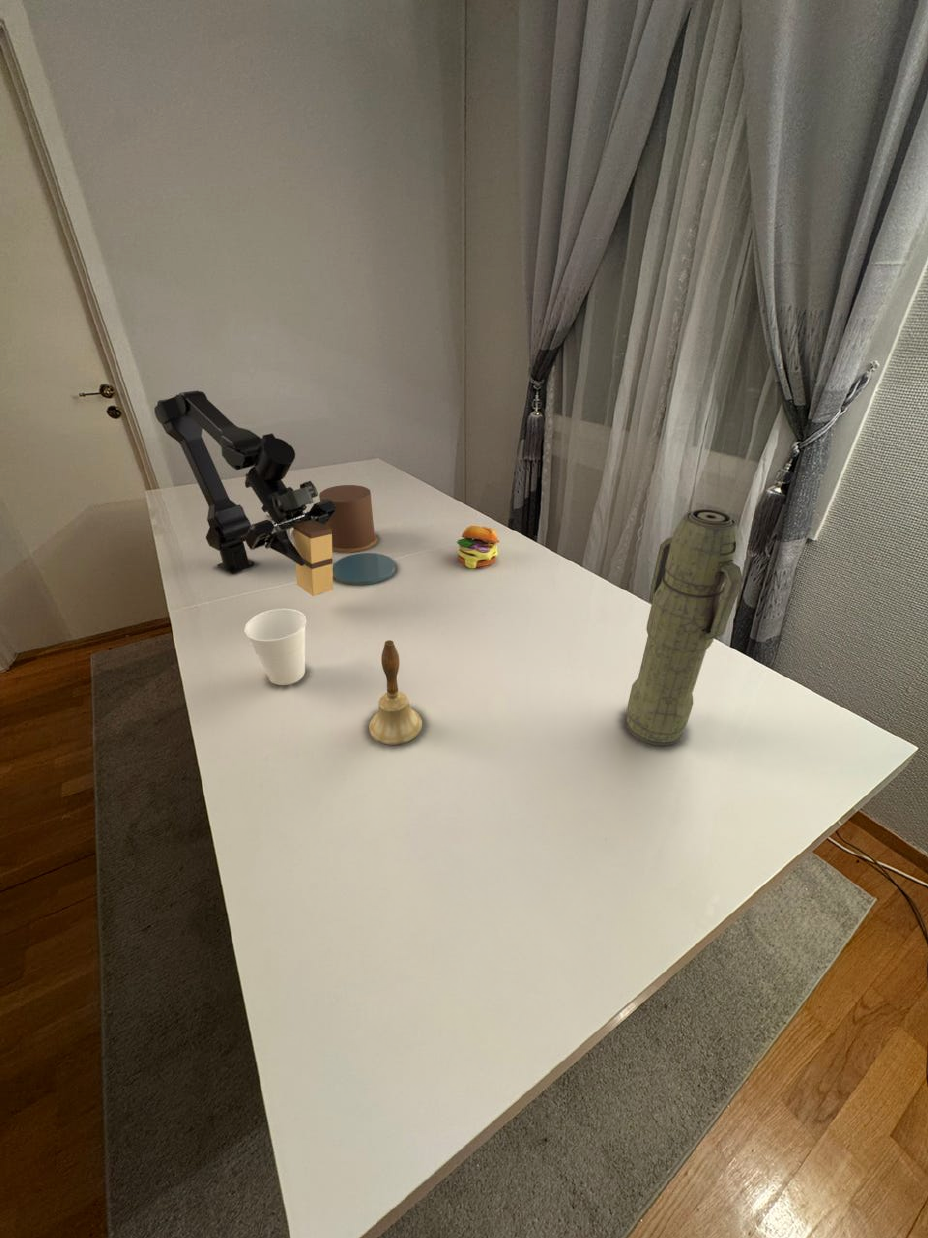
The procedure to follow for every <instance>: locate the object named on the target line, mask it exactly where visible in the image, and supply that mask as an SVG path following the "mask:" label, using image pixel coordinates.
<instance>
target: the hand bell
mask: <svg viewBox="0 0 928 1238" xmlns="http://www.w3.org/2000/svg"><path fill="white" fill-rule="evenodd" d="M380 660H381V668H382V671H383V673H384V675H385V678H386V692H385V693H384V694H382V695H381V696H380V698H379V700H378V708H377V712H376V713H375V714H374V715H373V717H372V718H371V720H370V722H369V724H368V731H369V734H370V736H371V737H372V738H373V739H374V740H375V741H377V742H378V743H381V744H383V745H391V746H395V745H402V744H406V743H408V742H410V741H412V740H413V739H415V738H416V737H417V736H418V735H419V734H420V732H421V730H422V728H423V721H422V718H421V716H420V714H419V713H418V712H417V711H415V710H414V709H412V708H411V706H410V703H409V698H408V696H407V695H406V694H405V693H403V692H401V691H399V685H398V673H399V670H400V655H399V651H398V649H397V648H396V645H395V642H394V641H393V640H386V641H384V644H383V649H382V652H381V659H380Z"/></svg>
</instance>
